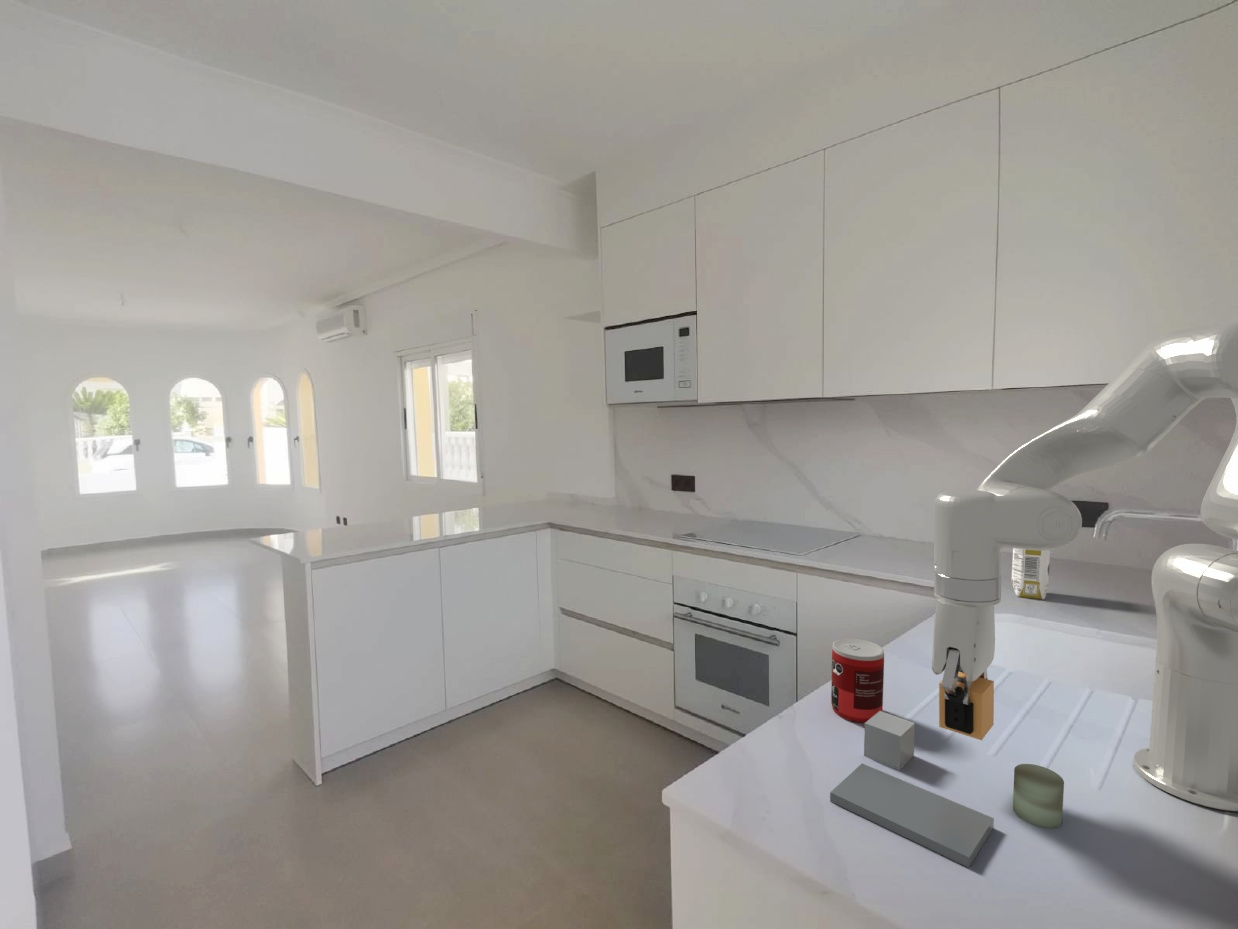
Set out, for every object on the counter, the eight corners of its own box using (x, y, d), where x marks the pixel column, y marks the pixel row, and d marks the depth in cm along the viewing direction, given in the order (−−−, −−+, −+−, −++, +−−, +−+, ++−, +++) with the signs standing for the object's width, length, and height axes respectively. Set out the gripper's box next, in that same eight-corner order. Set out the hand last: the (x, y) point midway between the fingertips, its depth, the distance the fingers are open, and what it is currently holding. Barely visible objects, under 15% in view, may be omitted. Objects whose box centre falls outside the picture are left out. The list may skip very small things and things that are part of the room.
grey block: (878, 742, 92) (879, 710, 91) (913, 756, 88) (914, 723, 88) (863, 756, 88) (864, 723, 88) (899, 771, 85) (900, 736, 84)
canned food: (840, 696, 106) (841, 634, 105) (888, 710, 101) (890, 645, 100) (823, 713, 100) (824, 648, 99) (874, 729, 95) (876, 661, 94)
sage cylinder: (1017, 796, 79) (1019, 759, 78) (1065, 813, 75) (1067, 774, 75) (1008, 815, 75) (1010, 777, 75) (1058, 834, 72) (1060, 794, 71)
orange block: (952, 712, 84) (952, 670, 84) (993, 724, 81) (993, 681, 80) (939, 727, 81) (939, 683, 80) (981, 740, 77) (981, 694, 77)
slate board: (861, 771, 84) (861, 763, 84) (993, 827, 73) (993, 818, 73) (830, 801, 78) (830, 792, 78) (968, 868, 67) (969, 857, 67)
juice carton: (1013, 597, 159) (1016, 524, 157) (1010, 588, 166) (1013, 519, 165) (1048, 601, 155) (1052, 527, 153) (1043, 592, 163) (1047, 521, 161)
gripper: (957, 567, 88) (957, 690, 89) (910, 597, 76) (911, 737, 78) (1018, 576, 82) (1017, 706, 84) (978, 609, 71) (977, 759, 72)
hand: (966, 719), depth 81 cm, fingers closed on orange block, 5 cm apart
